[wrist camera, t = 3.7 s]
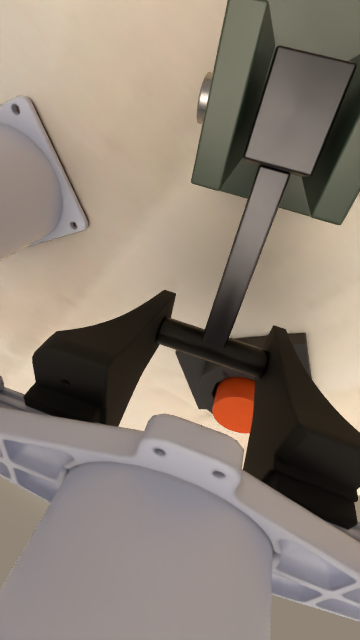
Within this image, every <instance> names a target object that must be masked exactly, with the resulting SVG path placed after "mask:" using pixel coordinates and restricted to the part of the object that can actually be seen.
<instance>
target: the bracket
mask: <svg viewBox="0 0 360 640" xmlns="http://www.w3.org/2000/svg"><path fill="white" fill-rule="evenodd" d="M280 45H281V46H285V47H290V48H294V49H298V50H302V51H307V52H311V53H315V54H320V55H324V56H328V57H333V58H337V59H341V60H345V61H350V62H354V63H356V64H357V67H356V70H355V72H354V75H353V77H352V80H351V82H350V85H349V87H348V89H347V92H346V94H345V97H344V99H343V102H342V104H341V106H340V109H339V111H338V114H337V116H336V119H335V121H334V123H333V126H332V128H331V131H330V133H329V136H328V138H327V140H326V143H325V145H324V148H323V150H322V153H321V155H320V157H319V160H318V162H317V165H316V167H315V170H314V172H313V174H312V175H311V176H296V175H292V174H290V178H289V181H288V184H287V186H286V189H285V191H284V194H283V197H282V199H281V202H280V205H279V208H282V209H286V210H289V211H293V212H296V213H300V214H303V215H307V216H310V217H312V218H315V219H318V220H322V221H325V222H329V223H332V224H336V225H341V224H342V223H343V221H344V219H345V217H346V215H347V214H348V212H349V210H350V208H351V206H352V205H353V203H354V201H355V199H356V197H357V195H358V194H359V192H360V0H228V2H227V7H226V12H225V17H224V22H223V27H222V31H221V36H220V41H219V46H218V51H217V56H216V61H215V66H214V71H213V73H211V72H208V73H207V74H206V76H205V78H204V81H203V83H202V87H201V90H200V95H199V100H198V106H197V122H198V123H199V124H202V130H201V135H200V140H199V145H198V150H197V155H196V159H195V164H194V169H193V174H192V179H191V183H192V184H196V185H199V186H203V187H206V188H210V189H213V190H217V191H223V192H226V193H230V194H233V195H237V196H240V197H244V198H247V199H248V197H249V194H250V191H251V188H252V185H253V182H254V179H255V176H256V173H257V170H258V167H259V166H260V165H256V164H252V163H249V162H247V161H246V160H245V159H244V152H245V149H246V145H247V142H248V139H249V136H250V132H251V129H252V126H253V122H254V119H255V116H256V112H257V109H258V106H259V103H260V99H261V96H262V93H263V89H264V86H265V83H266V79H267V76H268V73H269V69H270V66H271V63H272V60H273V56H274V53H275V50H276V48H277V46H280Z"/></svg>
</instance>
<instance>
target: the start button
mask: <svg viewBox="0 0 360 640" xmlns="http://www.w3.org/2000/svg"><path fill="white" fill-rule="evenodd" d="M254 387H255V380H252V379H249V378H246V377H230V378H227V379H225V380H223V381H222V382H221V383H220V384H219V385H218V387H217V391H216V396H215V400H214V404H213V409H212V412H213V416H214V418H215V419H216V421H217V422H218V423H219V424H221V425H222V426H223V427H225V428H227V429H229V430H231V431H235V432H239V433H250V430H251V424H252V418H253V408H254Z"/></svg>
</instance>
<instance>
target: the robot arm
mask: <svg viewBox="0 0 360 640" xmlns="http://www.w3.org/2000/svg"><path fill="white" fill-rule="evenodd" d="M16 106H18V107H19V110H20V113H18V111H17V109H16ZM73 222H74V223H76V225H77V227H75V226H74V224H73ZM87 227H88V221H87V219H86V217H85V214H84V212H83V210H82V208H81V206H80V204H79V202H78V200H77V197H76V195H75V193H74V191H73V189H72V187H71V185H70V183H69V180H68V178H67V176H66V174H65V172H64V170H63V168H62V166H61V163H60V161H59V159H58V157H57V155H56V153H55V151H54V149H53V146H52V144H51V142H50V140H49V138H48V136H47V134H46V132H45V129H44V127H43V125H42V123H41V121H40V119H39V117H38V115H37V112H36V110H35V108H34V106H33V104H32V102H31V101H30V99H29V98H28V97H27V96H24V95H20V96H16V97H15V98H13V99H11V100H9V101H8V102H6V103H4V104H2V105H1V106H0V261H2V260H4V259H5V258H7V257H9V256H11V255H12V254H14V253H16V252H18V251H19V250H21V249H23V248H25V247H28V246H31V245H35V244H38V243H42V242H45V241H49V240H52V239H56V238H59V237H63V236H66V235H70V234H73V233H77V232H80V231H83V230H85V229H86V228H87ZM175 296H176V293H173V292H170V291H167V290H164V291H162V292H160V293H159V294H158V295H156V296H155V297H153V298H152V299H150V300H149V301H147V302H146V303H144V304H142V305H141V306H139V307H137V308H136V309H134V310H132V311H130V312H128V313H126V314H124V315H122V316H120V317H117V318H115V319H112V320H109V321H106V322H103V323H100V324H97V325H93V326H88V327H84V328H78V329H72V330H64V331H57V332H55V333H54V334H53V335H52V336H51V337H49V338H48V339H47V340H46V341H45V342H44V343H43V344H42V345H41V346H40V347H39V348H38V349H37V350H36V351H35V352H34V355H33V357H32V363H33V368H34V374H35V380H36V383H35V384H34V385H33V386H32V387H31V388H30V389H29V391H28V392H27V393H26V394H25V395H24V394H22V393H19V392H16V391H14V390H11V389H8V388H6V387H4V382H3V379H2V377H1V376H0V476H1V477H3V478H5V479H7V480H8V481H10V482H12V483H14V484H16V485H18V486H19V487H21V488H23V489H25V490H27V491H28V492H30V493H32V494H34V495H36V496H38V497H39V498H41V499H43V500H45V501H47V502H49V503H50V505H49V506H48V508H47V510H46V512H45V513H44V515H43V517H42V518H41V520H40V522H39V523H38V525H37V527H36V529H35V530H34V532H33V534H32V536H31V537H30V539H29V541H28V543H27V544H26V546H25V548H24V549H23V551H22V553H21V555H20V556H19V558H18V560H17V561H16V563H15V565H14V567H13V569H12V570H11V572H10V573H9V575H8V577H7V579H6V580H5V582H4V584H3V586H2V587H1V589H0V640H270V628H271V625H270V624H271V595H275V596H278V597H281V598H285V599H288V600H291V601H294V602H298V603H301V604H304V605H308V606H311V607H315V608H318V609H321V610H324V611H328V612H331V613H334V614H337V615H340V616H344V617H346V618H350V619H353V620H356V621H359V622H360V522H358V521H357V516H356V510H355V505H354V502H357V501H358V495H357V489H358V488H359V487H360V432H358V431H357V430H356V429H355V428H354V427H353V426H352V425H351V424H349V423H348V422H347V421H346V420H345V419H344V418H343V417H342V416H341V415H340V414H339V412H338V411H337V410H336V409H335V408H334V407H333V406H332V405H331V404H330V402H329V401H328V400H327V399H326V398H325V397H324V395H323V394H322V393H321V392H320V390H319V389H318V387H317V386H316V385H315V383H314V382H313V381H312V379H311V377H310V376H309V374H308V373H307V371H306V369H305V368H304V366H303V364H302V362H301V361H300V359H299V357H298V355H297V353H296V351H295V349H294V346H293V344H292V342H291V340H290V338H289V335H288V333H287V331H286V329H283V328H280V327H277V326H274V325H273V327H272V329H271V331H270V333H269V335H268V337H267V339H266V341H265V343H264V345H263V347H262V349H265V350H267V351H269V360H268V364H267V367H266V370H265V372H264V374H263V375H262V377H261V378H257V377H255V387H254V408H253V418H252V424H251V430H250V436H249V441H248V447H247V452H246V457H245V462H244V467H243V470H242V462H243V453H244V449H243V448H242V446H241V445H240V444H239V442H238V441H237V440H235V439H233V438H232V437H230V436H228V435H226V434H223V433H221V432H218V431H215V430H212V429H210V428H207V427H204V426H202V425H199V424H196V423H193V422H191V421H188V420H185V419H183V418H180V417H177V416H174V415H169V414H159V415H154V416H152V418H151V419H150V420H149V421H148V424H147V426H146V428H145V431H140V430H134V429H128V428H122V427H118V426H119V424H120V421H121V419H122V417H123V414H124V412H125V410H126V407H127V405H128V403H129V401H130V398H131V396H132V394H133V392H134V390H135V387H136V385H137V383H138V381H139V379H140V377H141V375H142V373H143V371H144V369H145V368H146V366H147V364H148V363H149V361H150V359H151V358H152V356H153V355H154V353H155V351H156V350H157V348H158V346H159V345H160V344H158V343H157V335H158V332H159V329H160V326H161V324H162V321H163V319H164V318H165V317H169V318H171V314H172V310H173V305H174V301H175Z"/></svg>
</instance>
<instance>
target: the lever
mask: <svg viewBox="0 0 360 640" xmlns="http://www.w3.org/2000/svg"><path fill="white" fill-rule="evenodd" d="M356 67H357V64H356V63H354V62H350V61H345V60H341V59H337V58H333V57H328V56H324V55H320V54H315V53H311V52H307V51H302V50H298V49H294V48H290V47H285V46H281V45H280V46H277V48H276V50H275V53H274V56H273V60H272V63H271V66H270V69H269V73H268V76H267V79H266V83H265V86H264V89H263V93H262V96H261V99H260V103H259V106H258V109H257V112H256V116H255V119H254V122H253V126H252V129H251V132H250V136H249V139H248V142H247V145H246V149H245V152H244V159H245V160H246V161H247V162H249V163H252V164H256V165H260V166H259V167H258V170H257V173H256V176H255V179H254V182H253V185H252V188H251V191H250V194H249V197H248V200H247V203H246V206H245V209H244V212H243V215H242V218H241V221H240V224H239V227H238V230H237V233H236V236H235V239H234V243H233V246H232V249H231V252H230V255H229V258H228V261H227V264H226V267H225V270H224V273H223V276H222V279H221V282H220V285H219V288H218V291H217V294H216V297H215V300H214V303H213V306H212V309H211V312H210V315H209V318H208V322H207V325H206V328H205V329H202V328H199V327H196V326H193V325H190V324H187V323H184V322H181V321H178V320H175V319H172V318H169V317H165V318H164V319H163V321H162V324H161V326H160V329H159V332H158V335H157V343H158V344H161V345H164V346H167V347H170V348H173V349H175V350H178V351H181V352H184V353H187V354H190V355H193V356H196V357H199V358H202V359H205V360H207V361H210V362H213V363H216V364H219V365H222V366H225V367H228V368H231V369H234V370H237V371H240V372H242V373H245V374H248V375H251V376H254V377H257V378H261V377H262V375H263V374H264V372H265V370H266V367H267V364H268V360H269V351H267V350H265V349H262V348H259V347H256V346H253V345H250V344H247V343H244V342H241V341H238V340H235V339H232V338H229V336H230V333H231V331H232V328H233V326H234V323H235V320H236V318H237V315H238V312H239V310H240V307H241V305H242V302H243V299H244V297H245V294H246V291H247V289H248V286H249V283H250V281H251V278H252V276H253V273H254V270H255V268H256V265H257V262H258V260H259V257H260V255H261V252H262V249H263V247H264V244H265V241H266V239H267V236H268V234H269V231H270V228H271V226H272V223H273V220H274V218H275V215H276V212H277V210H278V207H279V205H280V202H281V199H282V197H283V194H284V191H285V189H286V186H287V184H288V181H289V178H290V174H292V175H296V176H311V175H312V174H313V172H314V170H315V167H316V165H317V162H318V160H319V157H320V155H321V153H322V150H323V148H324V145H325V143H326V140H327V138H328V136H329V133H330V131H331V128H332V126H333V123H334V121H335V119H336V116H337V114H338V111H339V109H340V106H341V104H342V102H343V99H344V97H345V94H346V92H347V89H348V87H349V85H350V82H351V80H352V77H353V75H354V72H355V70H356Z"/></svg>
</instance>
